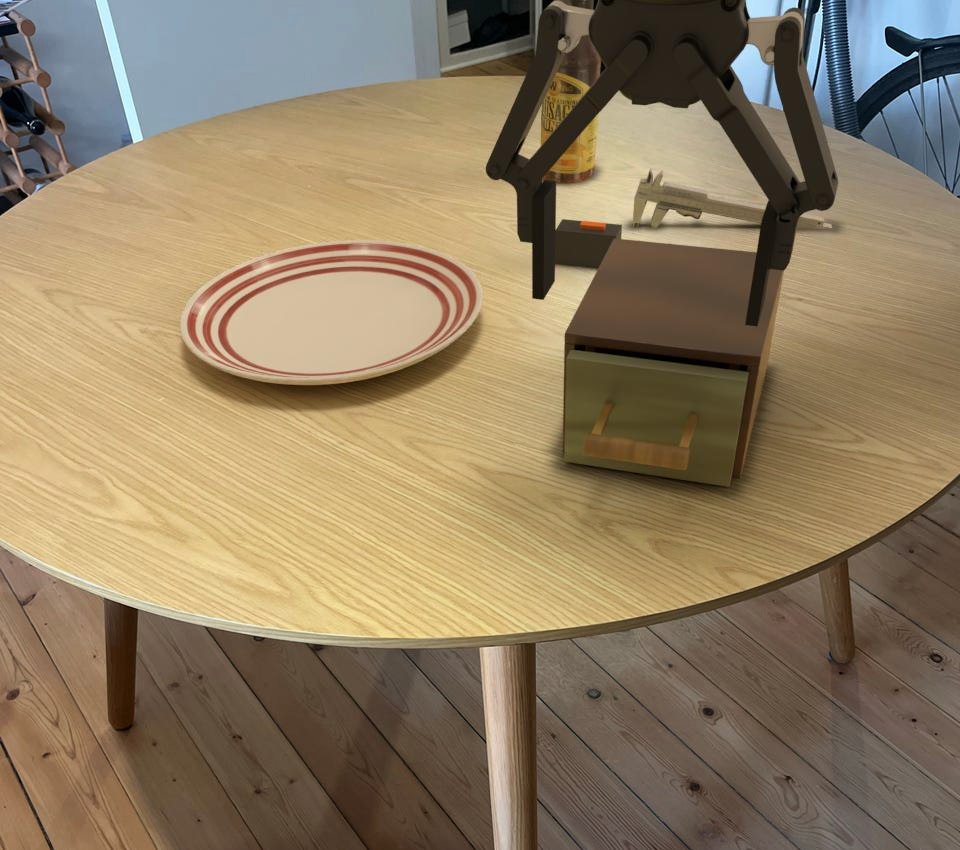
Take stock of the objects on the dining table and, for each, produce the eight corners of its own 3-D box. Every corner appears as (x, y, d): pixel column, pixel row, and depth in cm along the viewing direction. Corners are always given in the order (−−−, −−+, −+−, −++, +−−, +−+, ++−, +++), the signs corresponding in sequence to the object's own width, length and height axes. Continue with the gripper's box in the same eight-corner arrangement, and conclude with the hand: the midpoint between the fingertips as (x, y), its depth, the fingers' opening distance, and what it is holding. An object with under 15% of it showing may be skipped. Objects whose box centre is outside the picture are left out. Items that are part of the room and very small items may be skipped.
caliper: (632, 233, 107) (636, 171, 102) (632, 229, 107) (636, 167, 103) (833, 234, 104) (846, 171, 100) (832, 230, 105) (845, 167, 100)
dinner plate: (165, 298, 101) (156, 266, 98) (427, 244, 107) (425, 212, 104) (218, 446, 82) (208, 410, 80) (530, 370, 88) (530, 335, 86)
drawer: (716, 536, 71) (734, 428, 64) (543, 507, 74) (544, 401, 67) (755, 383, 84) (772, 281, 78) (607, 364, 87) (612, 265, 81)
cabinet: (739, 484, 76) (761, 357, 68) (562, 457, 79) (564, 333, 72) (765, 376, 86) (786, 254, 79) (607, 356, 90) (613, 237, 82)
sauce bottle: (529, 179, 117) (527, -21, 103) (565, 163, 120) (568, -34, 106) (571, 194, 114) (576, -11, 100) (607, 177, 117) (617, -25, 103)
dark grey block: (619, 264, 102) (622, 220, 99) (614, 276, 100) (616, 231, 97) (553, 257, 103) (554, 214, 100) (547, 268, 102) (547, 225, 99)
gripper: (415, -94, 51) (442, 306, 66) (949, -81, 44) (843, 357, 59) (465, -123, 55) (480, 255, 71) (952, -115, 49) (854, 298, 64)
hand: (646, 302), depth 65 cm, fingers open, 13 cm apart
